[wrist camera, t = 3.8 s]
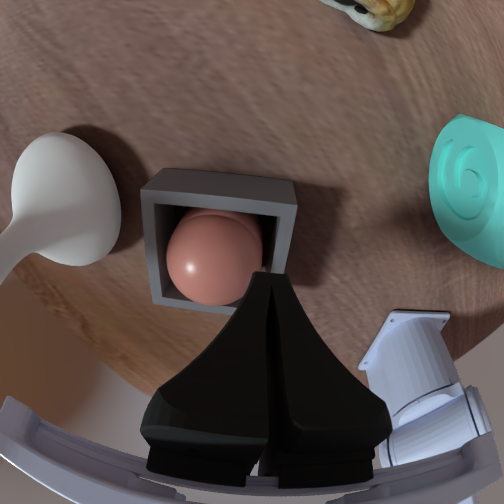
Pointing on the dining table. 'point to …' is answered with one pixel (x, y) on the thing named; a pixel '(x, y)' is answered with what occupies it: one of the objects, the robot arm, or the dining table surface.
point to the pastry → (375, 12)
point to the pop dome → (215, 254)
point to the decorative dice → (470, 187)
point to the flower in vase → (61, 205)
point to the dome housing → (214, 197)
